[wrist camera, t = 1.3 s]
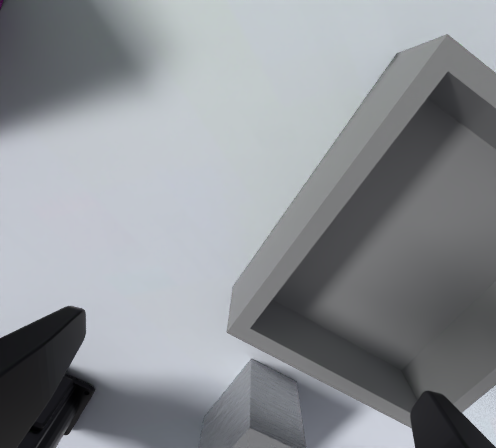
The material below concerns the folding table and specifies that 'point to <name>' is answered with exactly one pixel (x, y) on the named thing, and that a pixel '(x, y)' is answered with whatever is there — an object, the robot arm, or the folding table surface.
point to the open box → (391, 244)
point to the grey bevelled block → (255, 412)
